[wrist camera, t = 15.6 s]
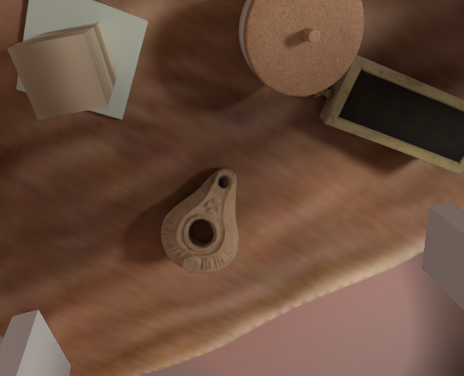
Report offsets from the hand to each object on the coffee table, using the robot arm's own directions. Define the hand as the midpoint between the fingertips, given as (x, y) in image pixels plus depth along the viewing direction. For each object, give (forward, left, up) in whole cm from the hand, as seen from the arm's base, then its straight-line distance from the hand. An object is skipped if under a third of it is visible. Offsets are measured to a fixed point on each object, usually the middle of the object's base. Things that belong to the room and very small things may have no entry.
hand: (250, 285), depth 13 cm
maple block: (0, -9, -30) cm, 32 cm away
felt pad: (0, -9, -31) cm, 32 cm away
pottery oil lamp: (+13, +7, -31) cm, 34 cm away
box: (-6, +24, -31) cm, 40 cm away
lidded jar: (-9, +8, -31) cm, 33 cm away
